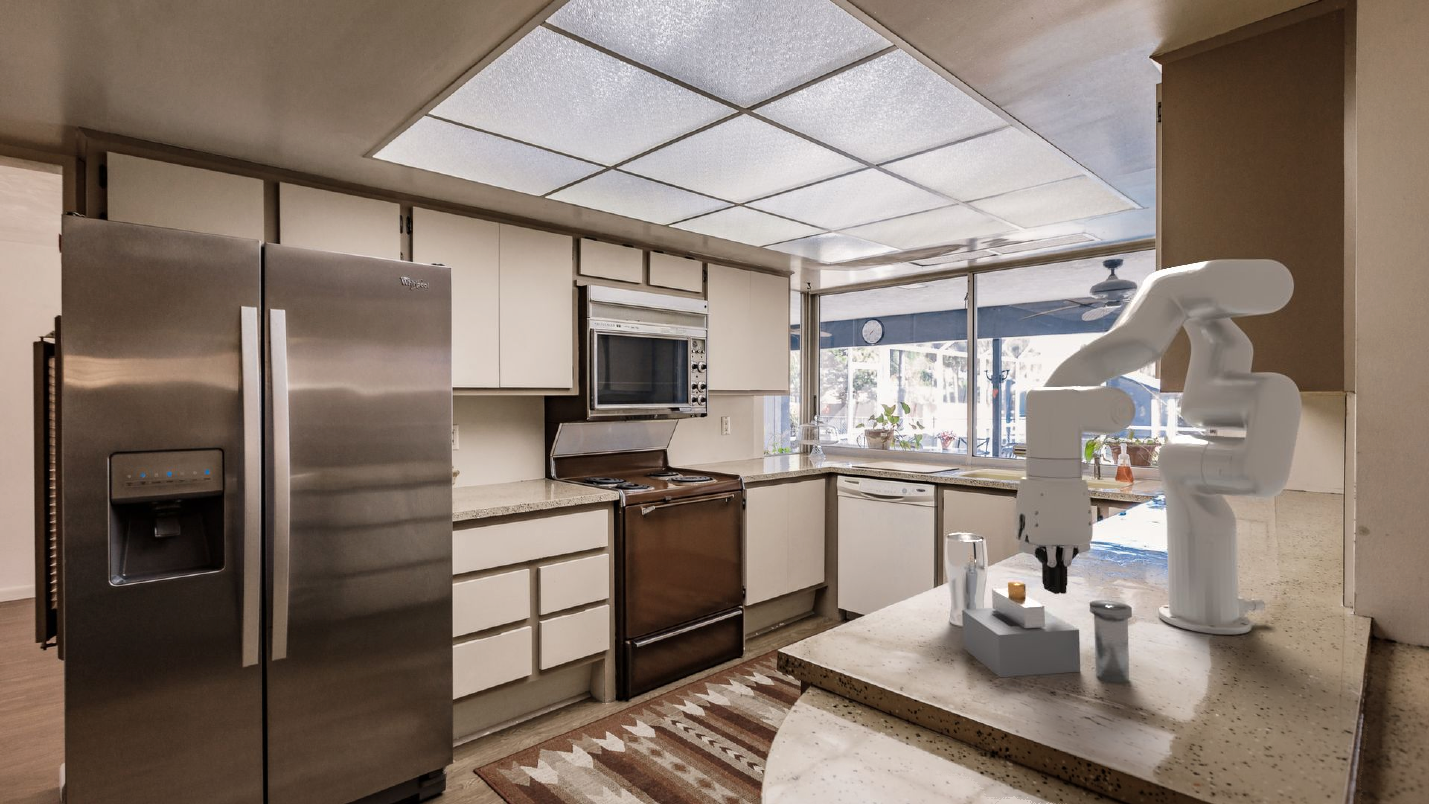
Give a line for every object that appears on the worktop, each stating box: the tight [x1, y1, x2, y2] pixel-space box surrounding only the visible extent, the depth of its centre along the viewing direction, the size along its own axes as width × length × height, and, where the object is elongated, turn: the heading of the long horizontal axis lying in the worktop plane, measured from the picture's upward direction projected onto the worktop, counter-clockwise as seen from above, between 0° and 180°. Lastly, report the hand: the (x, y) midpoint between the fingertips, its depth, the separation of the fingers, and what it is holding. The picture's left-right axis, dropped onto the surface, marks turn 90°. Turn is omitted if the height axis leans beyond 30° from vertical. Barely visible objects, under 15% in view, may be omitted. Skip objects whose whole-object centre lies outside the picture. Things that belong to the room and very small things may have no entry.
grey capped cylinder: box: [1089, 599, 1133, 685], centre depth 91 cm, size 5×5×10 cm
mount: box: [962, 607, 1081, 678], centre depth 98 cm, size 12×11×6 cm
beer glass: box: [944, 532, 989, 629], centre depth 114 cm, size 7×7×15 cm
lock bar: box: [991, 581, 1045, 628], centre depth 98 cm, size 3×9×5 cm, turn 5°
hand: (1054, 591), depth 98 cm, fingers closed
